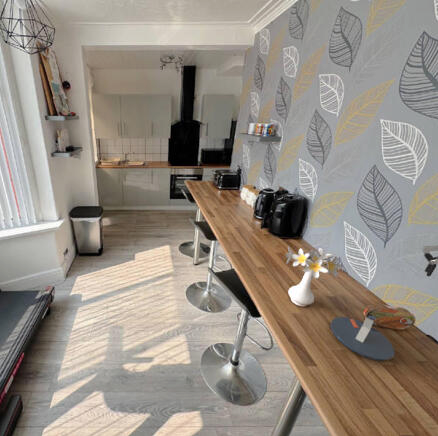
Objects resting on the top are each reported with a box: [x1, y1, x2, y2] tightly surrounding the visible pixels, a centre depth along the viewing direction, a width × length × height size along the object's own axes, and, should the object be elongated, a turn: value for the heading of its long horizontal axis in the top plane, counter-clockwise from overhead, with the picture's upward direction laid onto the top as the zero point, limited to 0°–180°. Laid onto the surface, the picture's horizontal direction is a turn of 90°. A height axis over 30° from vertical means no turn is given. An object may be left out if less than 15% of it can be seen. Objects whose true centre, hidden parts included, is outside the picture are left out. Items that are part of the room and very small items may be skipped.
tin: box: [362, 303, 416, 331], centre depth 88 cm, size 15×3×8 cm, turn 76°
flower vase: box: [285, 245, 343, 308], centre depth 94 cm, size 13×18×25 cm
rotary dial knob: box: [330, 316, 395, 362], centre depth 80 cm, size 17×17×7 cm
